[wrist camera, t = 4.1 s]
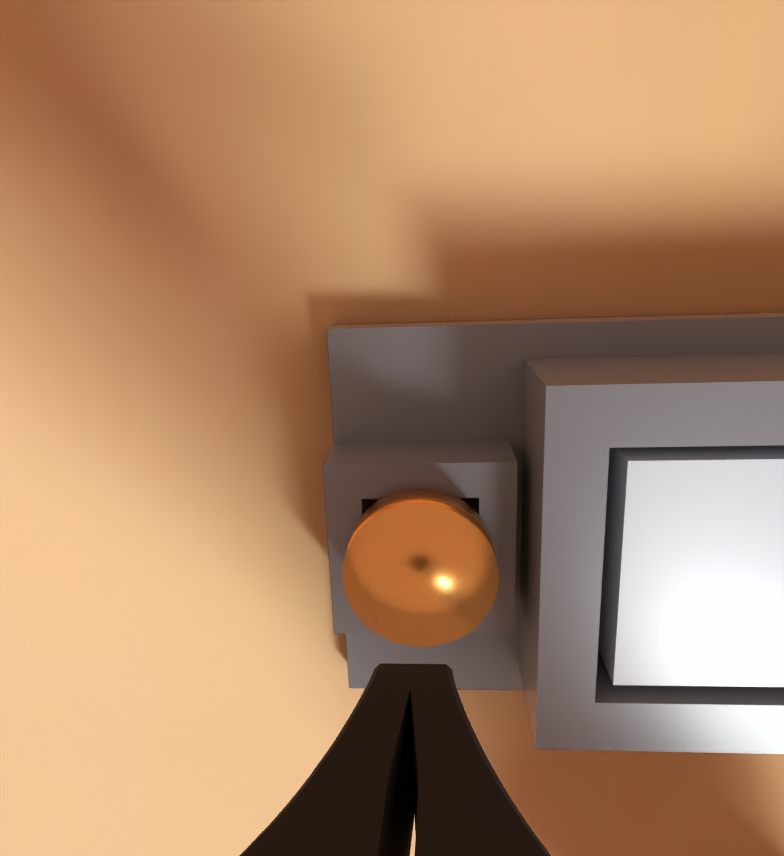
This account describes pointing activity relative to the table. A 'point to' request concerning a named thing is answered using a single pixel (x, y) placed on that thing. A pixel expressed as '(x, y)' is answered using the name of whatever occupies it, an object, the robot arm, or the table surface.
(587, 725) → the housing
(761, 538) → the cartridge
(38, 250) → the table surface
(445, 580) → the plunger
